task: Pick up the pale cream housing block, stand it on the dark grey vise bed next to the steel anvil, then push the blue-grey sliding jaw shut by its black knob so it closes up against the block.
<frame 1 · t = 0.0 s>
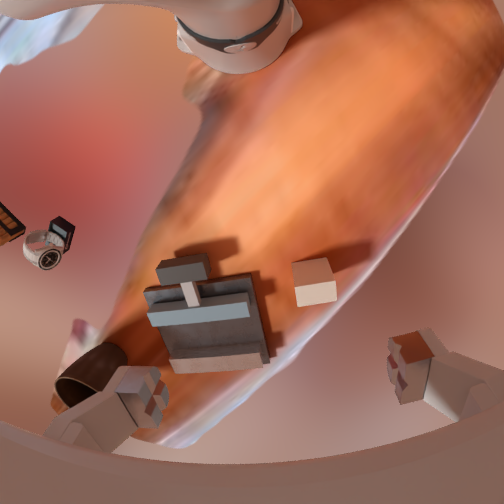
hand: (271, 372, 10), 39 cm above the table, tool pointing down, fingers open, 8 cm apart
housing block: (310, 269, 51), on the table
plant pot: (112, 353, 63), on the table
watch: (65, 232, 51), on the table
vise bed: (209, 326, 57), on the table
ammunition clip: (11, 216, 50), on the table
vise jaw: (190, 291, 50), point 4 cm above the table, slide at 0.0 cm
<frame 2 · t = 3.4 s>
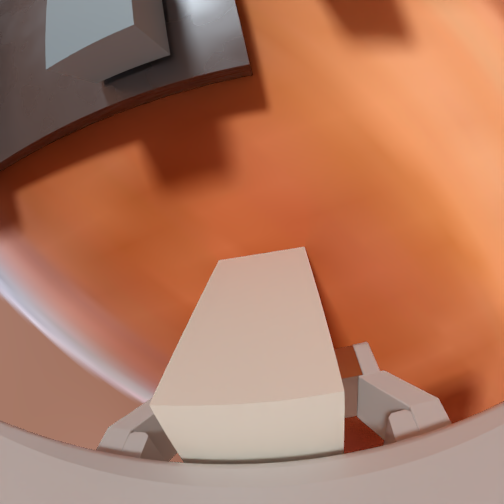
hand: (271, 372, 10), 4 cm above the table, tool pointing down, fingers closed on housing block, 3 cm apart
housing block: (273, 318, 13), on the table, touching gripper
when the fingers open (6 cm above the table, at t = 9.5 s): housing block drops 1 cm, resting on vise bed.
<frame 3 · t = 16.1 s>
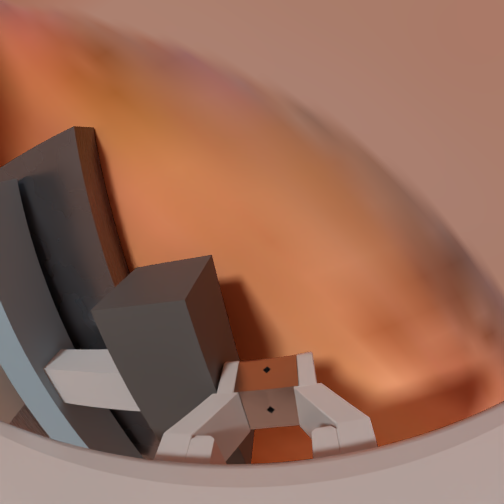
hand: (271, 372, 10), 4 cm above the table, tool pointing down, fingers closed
housing block: (3, 349, 14), point 1 cm above the table, touching vise bed
vise bed: (28, 338, 15), on the table
vise jaw: (102, 379, 11), point 4 cm above the table, slide at 1.2 cm, touching gripper
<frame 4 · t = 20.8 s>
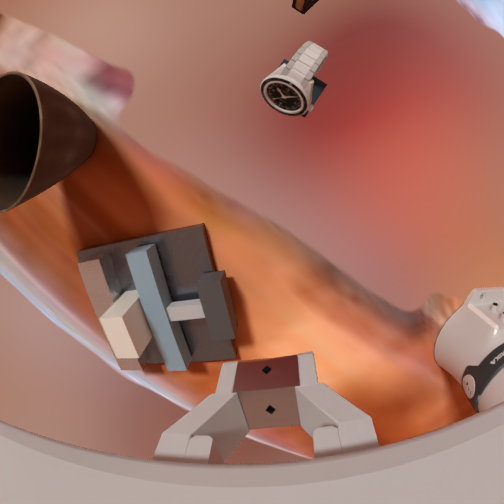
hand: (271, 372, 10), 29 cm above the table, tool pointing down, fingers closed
housing block: (142, 308, 41), point 1 cm above the table, touching vise bed
plant pot: (77, 138, 36), on the table
watch: (293, 92, 33), on the table
vise bed: (155, 302, 43), on the table
vise jaw: (188, 309, 39), point 4 cm above the table, slide at 4.0 cm
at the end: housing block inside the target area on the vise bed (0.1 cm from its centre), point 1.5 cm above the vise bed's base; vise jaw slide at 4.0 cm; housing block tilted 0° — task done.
